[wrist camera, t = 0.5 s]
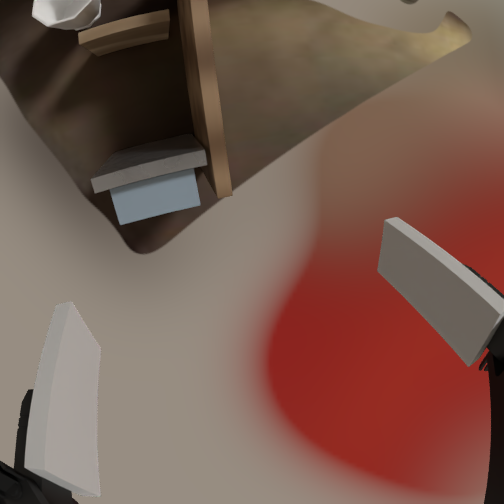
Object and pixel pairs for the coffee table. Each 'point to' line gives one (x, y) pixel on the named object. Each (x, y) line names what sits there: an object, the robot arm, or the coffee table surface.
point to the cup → (67, 13)
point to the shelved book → (155, 196)
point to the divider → (126, 33)
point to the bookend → (149, 161)
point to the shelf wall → (204, 92)
